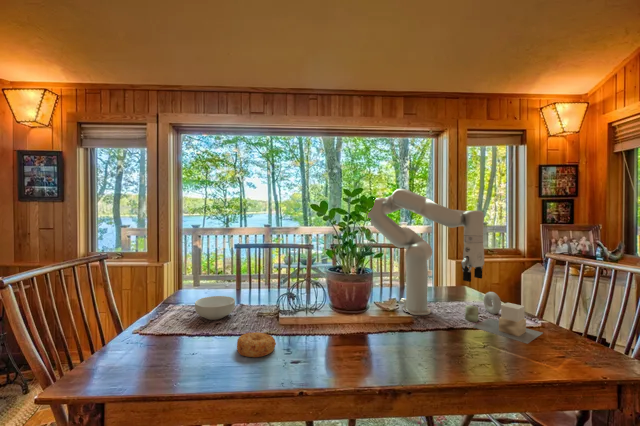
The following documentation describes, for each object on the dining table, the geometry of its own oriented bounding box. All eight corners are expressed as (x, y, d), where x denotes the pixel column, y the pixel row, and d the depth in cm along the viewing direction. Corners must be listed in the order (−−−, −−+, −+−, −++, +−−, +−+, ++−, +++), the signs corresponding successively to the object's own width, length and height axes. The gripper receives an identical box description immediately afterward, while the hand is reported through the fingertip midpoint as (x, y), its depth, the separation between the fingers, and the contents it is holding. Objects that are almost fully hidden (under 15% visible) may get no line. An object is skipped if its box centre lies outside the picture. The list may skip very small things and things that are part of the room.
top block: (501, 318, 126) (501, 305, 126) (507, 314, 129) (507, 302, 129) (517, 322, 121) (518, 309, 121) (524, 319, 125) (524, 306, 125)
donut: (502, 317, 143) (503, 294, 143) (495, 317, 142) (496, 295, 142) (488, 310, 153) (488, 289, 153) (481, 310, 152) (482, 289, 152)
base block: (498, 330, 126) (499, 317, 126) (506, 326, 130) (506, 314, 130) (518, 336, 120) (518, 323, 120) (525, 331, 125) (526, 319, 125)
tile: (471, 328, 130) (471, 326, 130) (489, 319, 140) (489, 318, 140) (527, 345, 114) (527, 343, 114) (543, 334, 124) (543, 332, 124)
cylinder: (462, 320, 138) (463, 306, 138) (468, 318, 141) (469, 304, 141) (474, 324, 134) (474, 309, 134) (480, 321, 138) (480, 307, 137)
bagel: (252, 364, 100) (252, 348, 100) (227, 350, 108) (227, 336, 108) (283, 350, 109) (283, 335, 109) (258, 339, 118) (258, 325, 118)
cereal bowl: (228, 324, 132) (228, 307, 132) (188, 323, 133) (188, 306, 132) (239, 310, 149) (239, 295, 149) (203, 310, 150) (203, 295, 149)
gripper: (472, 241, 129) (471, 284, 129) (491, 239, 139) (491, 278, 140) (454, 240, 135) (453, 280, 135) (474, 237, 145) (473, 275, 146)
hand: (472, 279), depth 137 cm, fingers open, 9 cm apart
